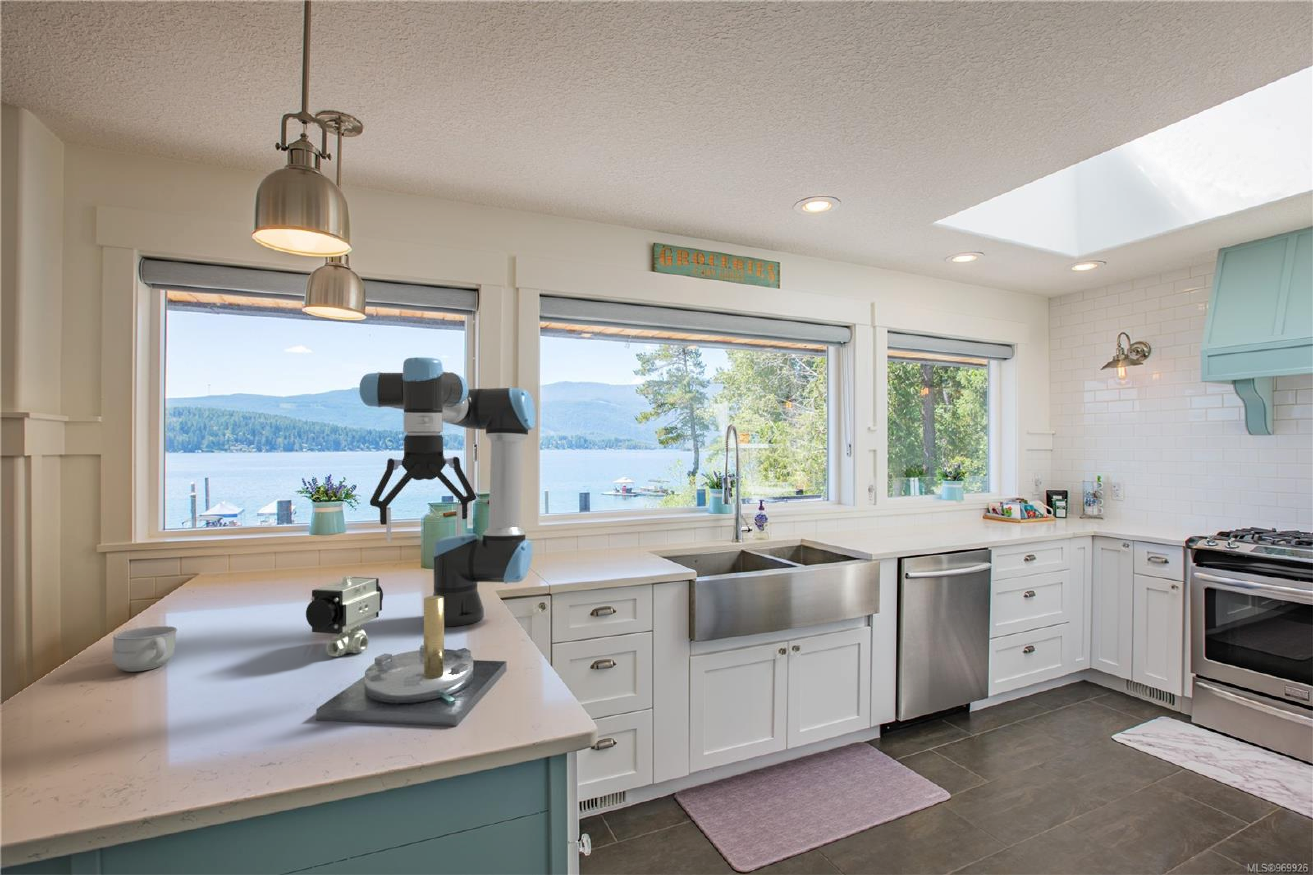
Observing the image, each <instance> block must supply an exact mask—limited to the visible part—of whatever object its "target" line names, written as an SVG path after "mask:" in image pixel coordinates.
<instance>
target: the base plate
mask: <svg viewBox="0 0 1313 875" xmlns="http://www.w3.org/2000/svg"><path fill="white" fill-rule="evenodd" d="M507 669H508V668H507V660H482V659H481V660H479V659H478V660H477V659H473V679H472V681H471V682H470V683H469V684H468V685H467V686H465V687H464V688H462V689H460V690H459V691H456V692H454V693H452V694H449V695H448V694H447V695H443V696H441V697H440V698H436V699H431V700H426V701H420V702H411V703H389V702H382V701H377V700H374V699H372V698H370V697H369V696H367V695H366V693H365V675H364V676H363V677H362V678H360V679H358V680H357V681H355V682H354V683H352V684H351V685H349V686H347V687H346V688H345V689H343V690H342V691H340V692H339V693H338V694H336V695H335V696H333V697H332V698H330V699H328V700H327V701H326V702H324V703H323V704H321V705H320V706H318V707H317V708H316V710H315V711H316V714H315V716H316V717H315V718H316V720H315V721H323V722H324V721H327V722H328V721H331V722H348V723H349V722H350V723H351V722H353V723H373V724H395V725H396V724H397V725H417V726H418V725H419V726H438V727H439V726H442V727H443V726H445V727H458V726H459V724H460V723H461V722H462V721H463V720H464V719H465V718H466V717H467V716H468V714H469V713H470V712H471V711H472V710H473V709H474V707H475V706H476V705H477V704H478V703H479V702H480V701H481V700H482V699H483V697H484V696H486V694H487V693H488V692H489V691H490V690H491V689H492V688H493V687H494V685H495V684H496V683H497V682H498V681H499V680H500V678H501V677H503V675H504V674H505V673H506V672H507V671H508V670H507Z"/></svg>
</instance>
